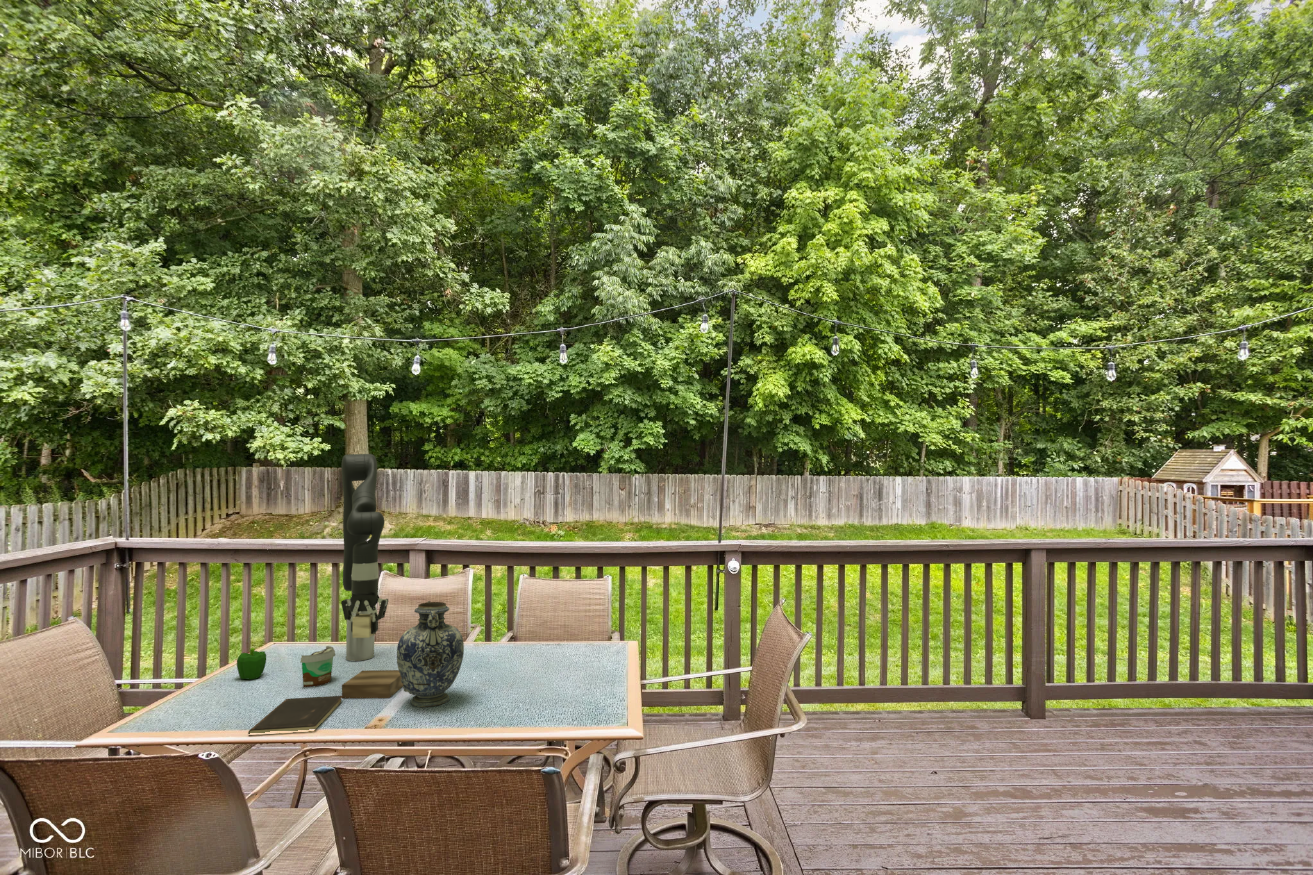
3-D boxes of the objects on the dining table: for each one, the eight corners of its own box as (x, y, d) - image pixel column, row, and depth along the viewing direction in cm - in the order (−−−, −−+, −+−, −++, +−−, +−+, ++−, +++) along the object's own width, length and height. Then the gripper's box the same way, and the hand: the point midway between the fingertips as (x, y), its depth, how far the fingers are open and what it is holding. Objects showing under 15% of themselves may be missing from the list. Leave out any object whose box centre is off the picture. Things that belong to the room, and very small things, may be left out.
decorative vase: (394, 693, 201) (396, 599, 202) (458, 686, 208) (460, 595, 210) (396, 718, 181) (399, 613, 183) (467, 709, 189) (469, 608, 190)
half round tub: (317, 689, 206) (317, 656, 206) (299, 688, 207) (300, 655, 207) (343, 677, 218) (344, 646, 218) (326, 676, 219) (327, 645, 219)
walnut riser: (362, 683, 212) (362, 670, 212) (406, 682, 212) (406, 669, 212) (341, 698, 198) (342, 684, 198) (389, 697, 198) (389, 684, 198)
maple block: (359, 633, 207) (360, 613, 207) (376, 633, 207) (376, 613, 207) (352, 637, 202) (352, 617, 202) (368, 637, 202) (369, 617, 202)
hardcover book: (343, 703, 195) (343, 695, 195) (315, 734, 172) (315, 725, 172) (284, 706, 193) (284, 698, 193) (247, 738, 170) (248, 729, 170)
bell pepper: (240, 675, 221) (240, 644, 221) (268, 672, 223) (268, 642, 224) (232, 683, 213) (233, 651, 213) (262, 680, 215) (262, 648, 216)
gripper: (393, 575, 209) (392, 630, 208) (347, 575, 209) (346, 630, 208) (383, 579, 201) (382, 636, 201) (335, 579, 202) (335, 636, 201)
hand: (364, 633), depth 204 cm, fingers closed on maple block, 5 cm apart
